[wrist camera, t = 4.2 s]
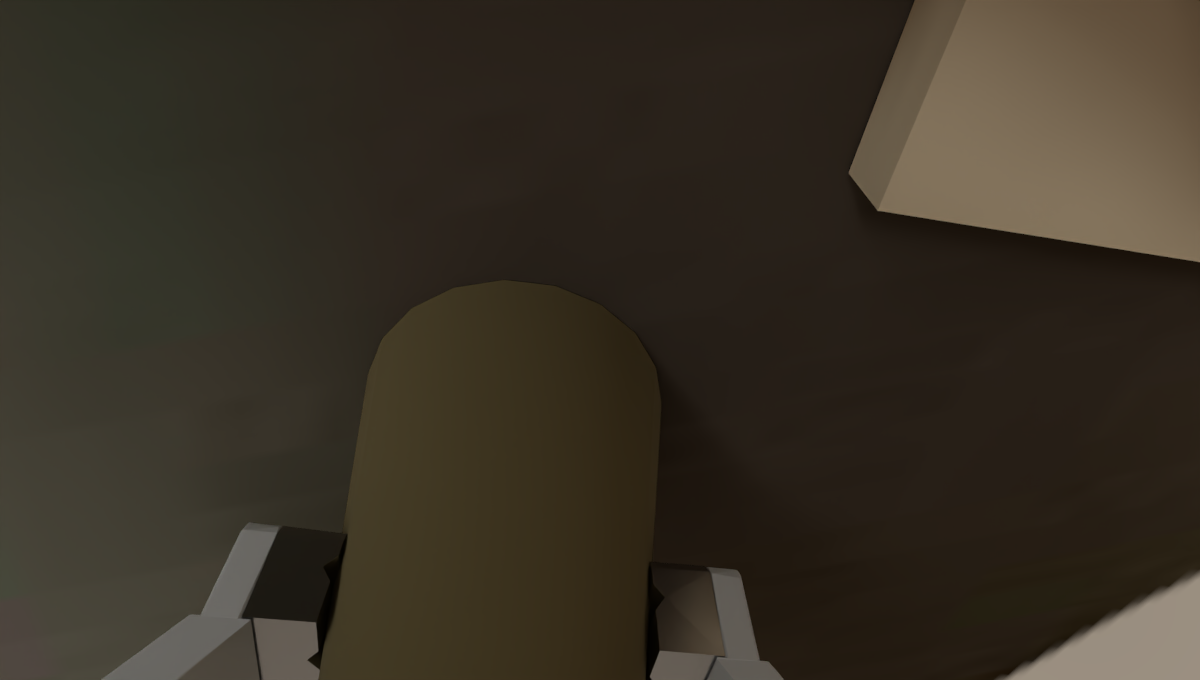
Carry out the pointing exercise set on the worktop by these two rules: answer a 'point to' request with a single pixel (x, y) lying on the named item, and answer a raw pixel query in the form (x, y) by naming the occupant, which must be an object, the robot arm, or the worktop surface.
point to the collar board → (1044, 121)
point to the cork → (500, 495)
